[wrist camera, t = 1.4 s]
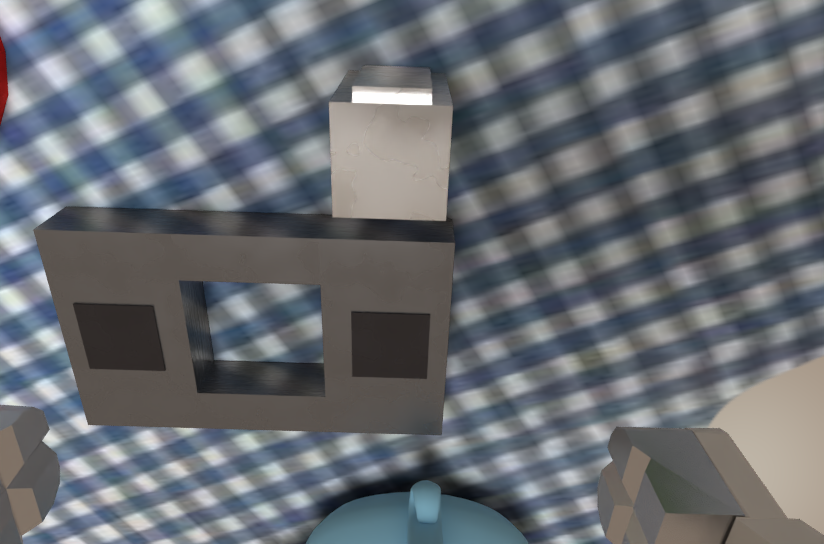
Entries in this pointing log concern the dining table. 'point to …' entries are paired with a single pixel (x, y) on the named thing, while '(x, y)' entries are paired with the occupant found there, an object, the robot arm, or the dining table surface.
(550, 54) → the dining table surface
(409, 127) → the stepped metal block
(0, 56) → the kitchen timer
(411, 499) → the decorative pot
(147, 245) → the grey flat block
